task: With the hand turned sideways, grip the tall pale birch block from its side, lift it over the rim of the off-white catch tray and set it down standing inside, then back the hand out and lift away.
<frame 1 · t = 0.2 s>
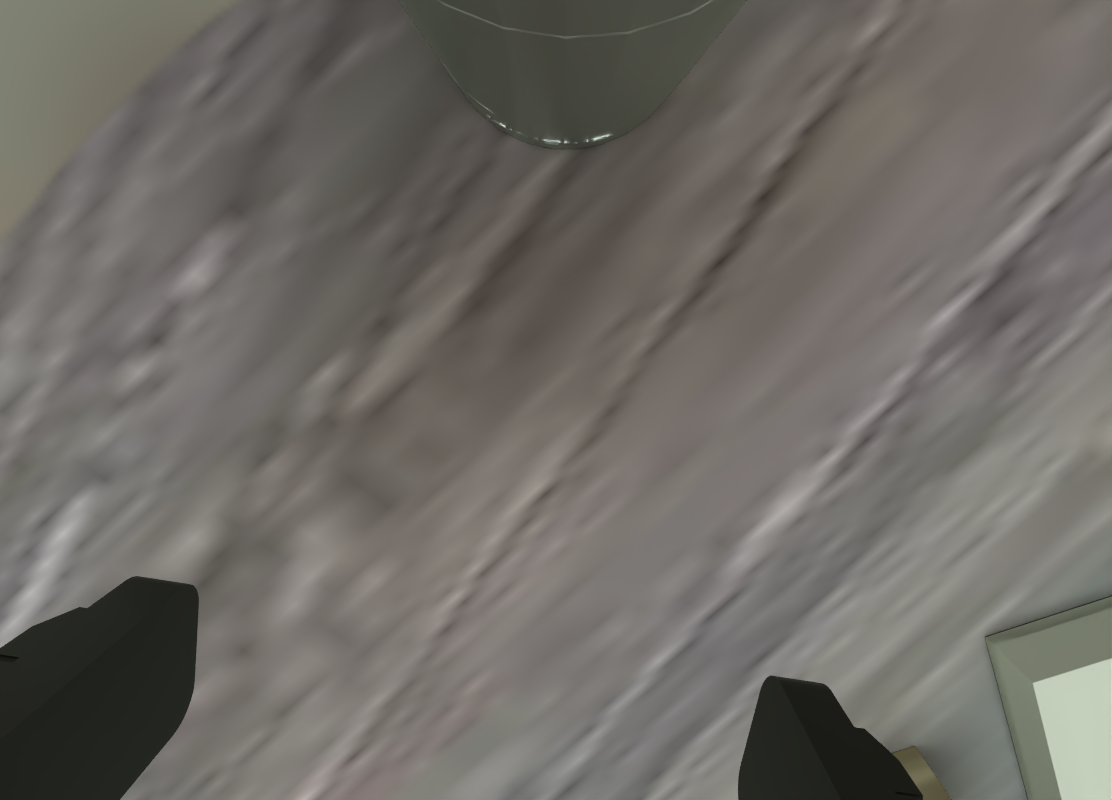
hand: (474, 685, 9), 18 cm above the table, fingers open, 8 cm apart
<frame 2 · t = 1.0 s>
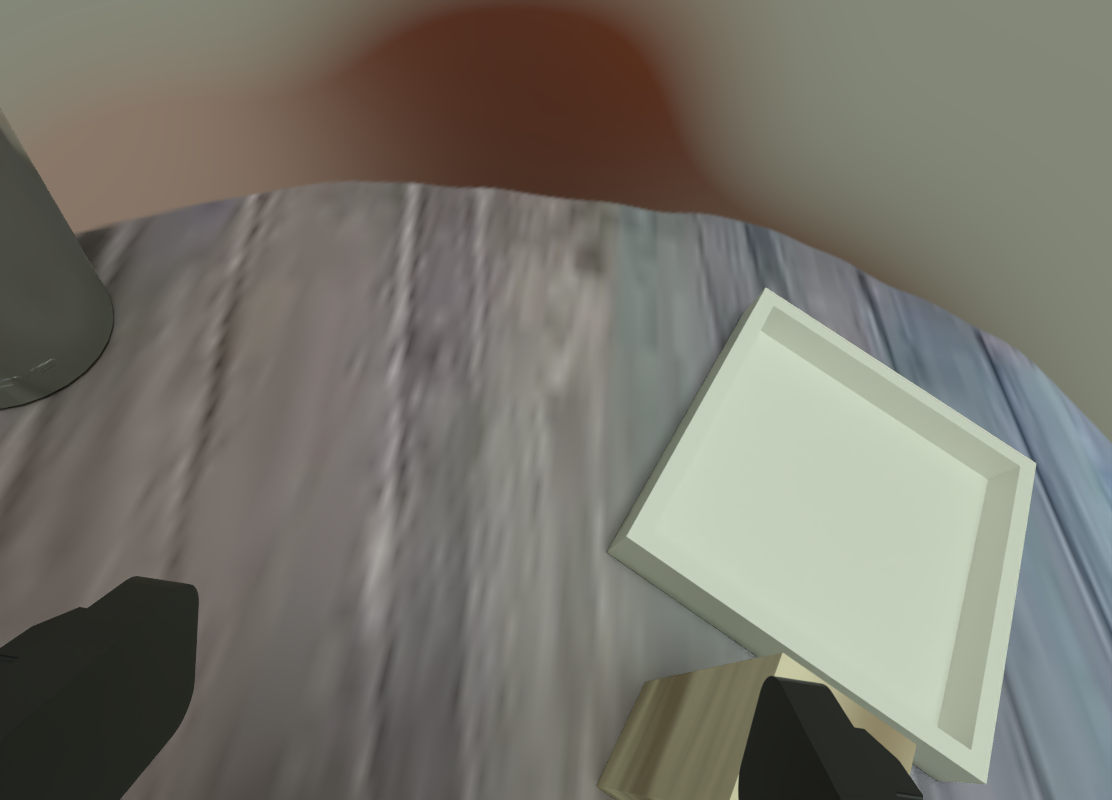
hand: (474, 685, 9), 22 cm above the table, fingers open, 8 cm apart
catch tray: (824, 511, 38), on the table
block: (667, 763, 29), on the table
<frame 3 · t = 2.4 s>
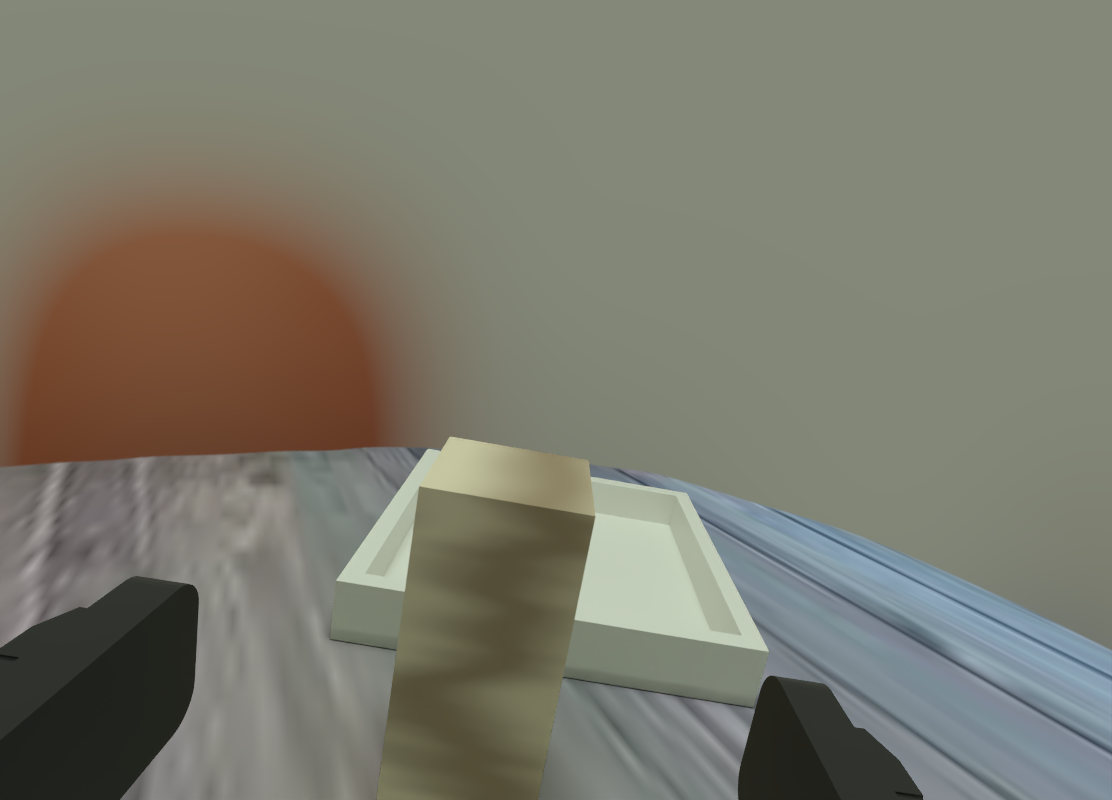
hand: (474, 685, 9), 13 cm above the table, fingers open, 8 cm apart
catch tray: (548, 570, 39), on the table
block: (460, 784, 23), on the table
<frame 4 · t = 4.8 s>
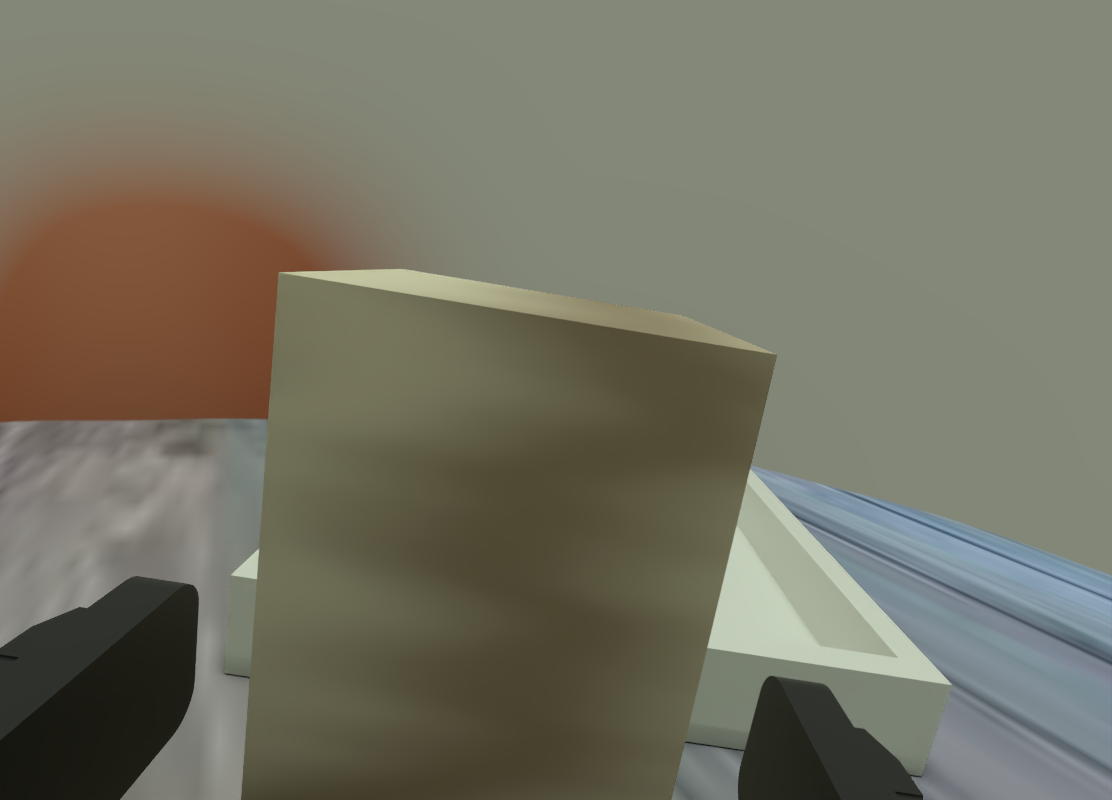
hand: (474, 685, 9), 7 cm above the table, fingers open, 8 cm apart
catch tray: (571, 563, 28), on the table
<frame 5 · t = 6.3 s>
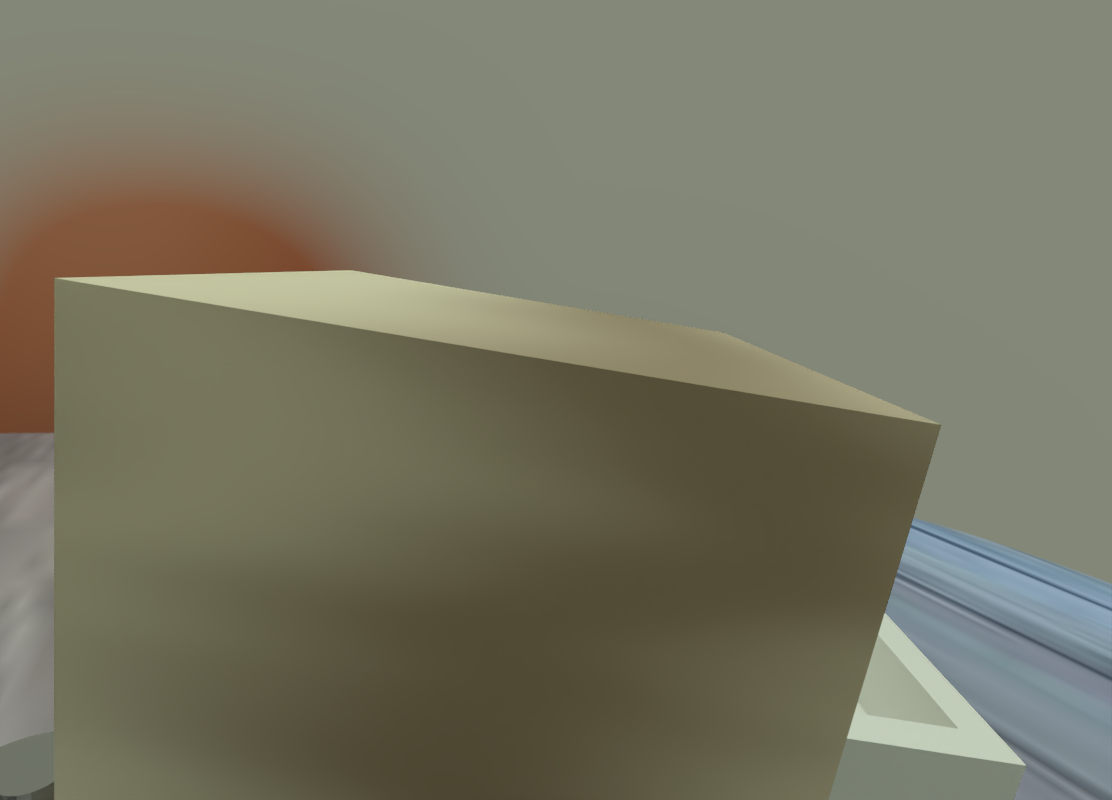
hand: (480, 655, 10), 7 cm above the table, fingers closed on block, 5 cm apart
catch tray: (574, 596, 25), on the table
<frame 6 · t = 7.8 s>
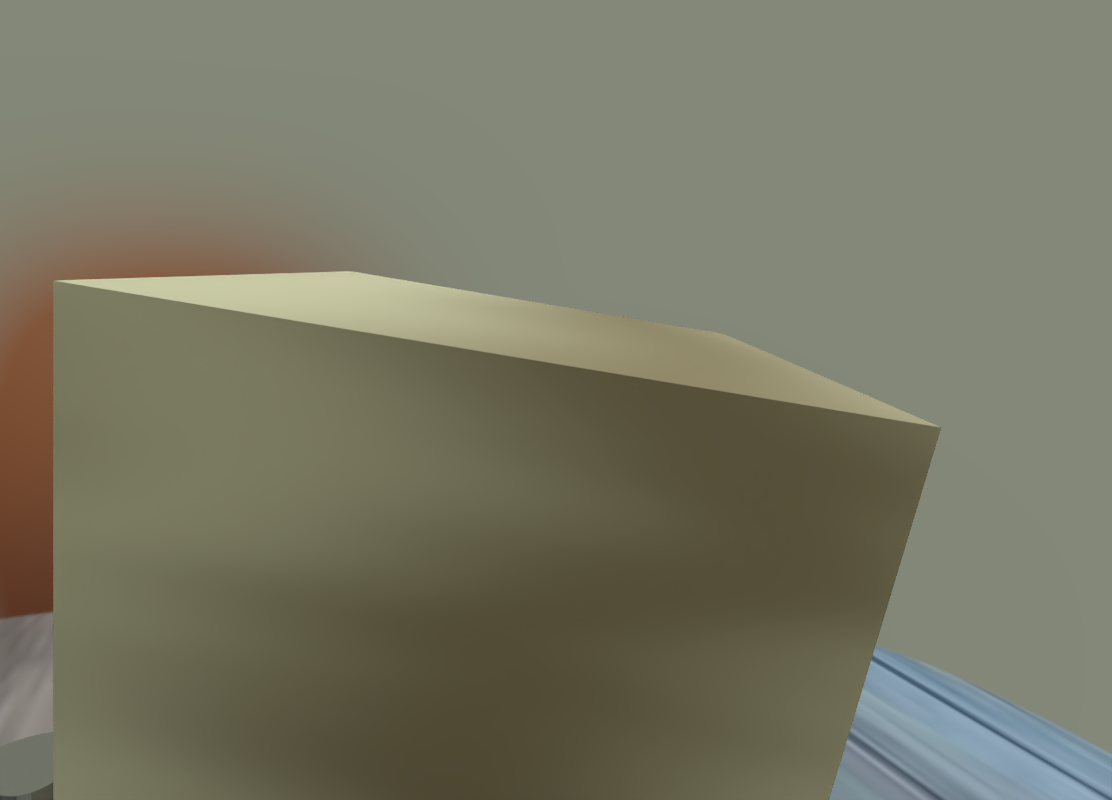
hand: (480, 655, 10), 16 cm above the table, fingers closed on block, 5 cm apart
when the fingers open (8 cm above the table, at t = 11.8 s): block drops 1 cm, resting on catch tray.
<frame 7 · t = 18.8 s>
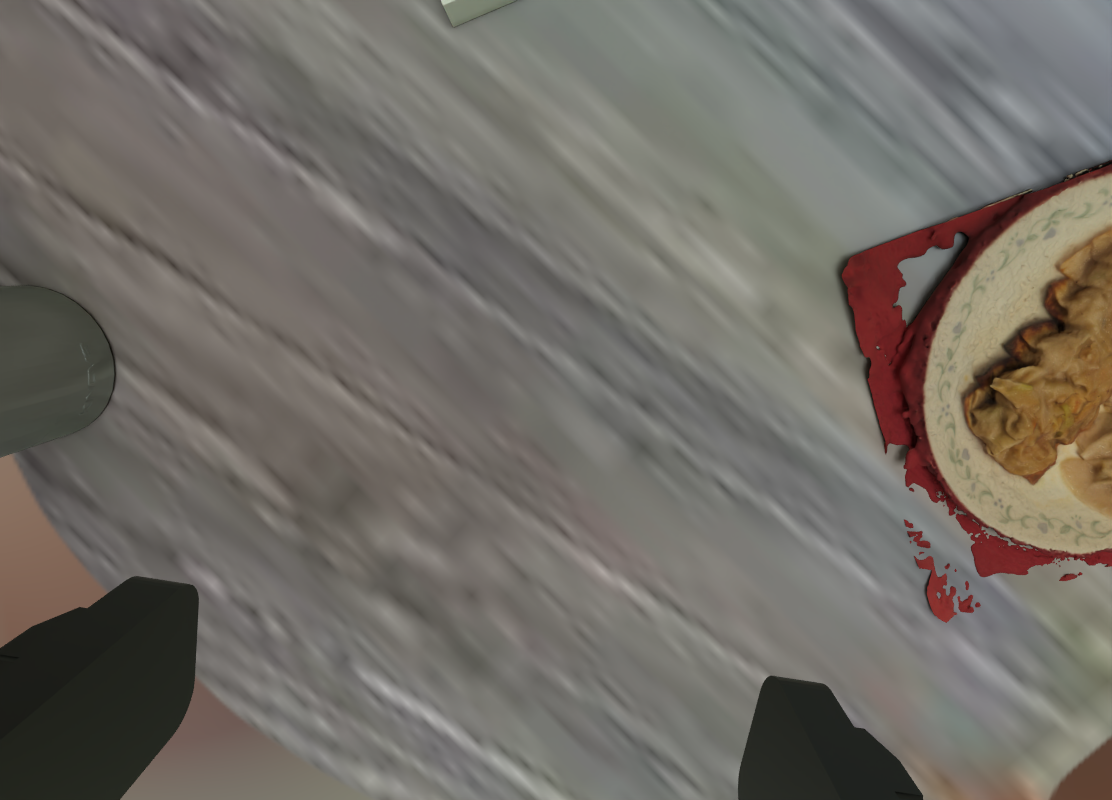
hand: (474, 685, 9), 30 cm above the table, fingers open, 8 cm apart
plate with food: (1091, 375, 39), on the table
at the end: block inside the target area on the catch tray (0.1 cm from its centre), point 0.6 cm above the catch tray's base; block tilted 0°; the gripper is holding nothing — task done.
